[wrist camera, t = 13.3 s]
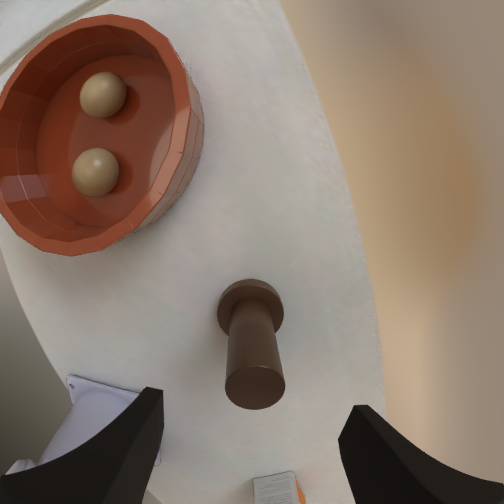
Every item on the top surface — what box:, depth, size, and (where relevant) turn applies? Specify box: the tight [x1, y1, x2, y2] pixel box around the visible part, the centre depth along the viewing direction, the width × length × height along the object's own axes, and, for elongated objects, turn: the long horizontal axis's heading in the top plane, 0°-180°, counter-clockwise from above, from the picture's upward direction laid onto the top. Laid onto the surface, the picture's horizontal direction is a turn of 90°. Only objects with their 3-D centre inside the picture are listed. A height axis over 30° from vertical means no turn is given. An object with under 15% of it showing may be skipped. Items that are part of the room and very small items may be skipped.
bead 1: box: [80, 72, 127, 118], centre depth 14 cm, size 3×3×3 cm
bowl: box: [0, 14, 204, 256], centre depth 14 cm, size 12×12×5 cm
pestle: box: [217, 279, 285, 410], centre depth 15 cm, size 4×4×8 cm
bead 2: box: [72, 148, 119, 197], centre depth 15 cm, size 3×3×3 cm
